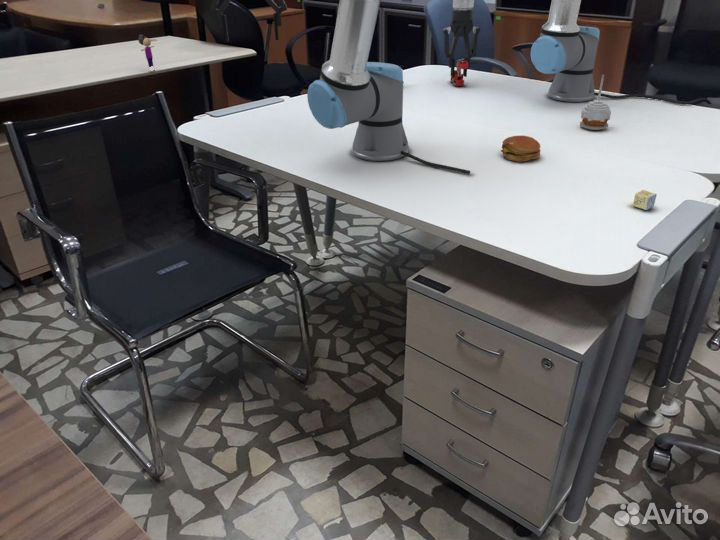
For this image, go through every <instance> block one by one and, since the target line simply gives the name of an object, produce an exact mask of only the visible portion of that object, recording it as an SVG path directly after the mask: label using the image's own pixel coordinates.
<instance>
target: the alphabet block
mask: <svg viewBox="0 0 720 540" xmlns="http://www.w3.org/2000/svg"><path fill="white" fill-rule="evenodd" d="M657 195H658V194H657V193H655V192H651V191H648V190H645V189H642V190H640V191H637V192H636V193H635V194H634V198H633V203H632V206H633V207H635V208H638V209H640V210H641V209H642V210H644V211H648V210H650V209H652V208H654V207H655V203H656V199H657Z"/></svg>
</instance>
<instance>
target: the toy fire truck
mask: <svg viewBox="0 0 720 540" xmlns="http://www.w3.org/2000/svg"><path fill="white" fill-rule="evenodd" d="M455 67H456V69H454V77H451V76H450V83H452V84H453V86H454V87H463V86H465V80H464V76H463V73H462V70H463V69H467V70H468V69H469V67H468V62H467V61H464V60H458V61H457V62H456V63H455Z"/></svg>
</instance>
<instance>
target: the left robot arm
mask: <svg viewBox="0 0 720 540" xmlns="http://www.w3.org/2000/svg"><path fill="white" fill-rule="evenodd" d="M219 1H220V0H212V1H211V5H210V8H209V13H211V14H214V15H216V16H217V22H218V27H219V29H223V36H224V43H229V41H230V37H229V29H228V22H227V15H226V14H223V13H224V12H225V10H226V8H227V7H228V6H229V4H230V3H231V1H232V0H223V2H222V4H221V5H220V6H219V8H217V7H218V4H219ZM264 1H265V2H266V3H267V4H268V5H269V6H270V7H271V9H273V11H274V12H273V14H272V15H273V24H274V25H273V27H274V36H275V41H279V40H280V35H279V27H282V25H283V22H282V13H283V12H285V11H287V9H288V6H287V4H286V2H285V0H277V2H278V4H279V6H278V5H277V3H276V2H275V1H274V0H264ZM381 1H382V0H339V3H338V10H337V16H336V20H335V21H336V22H335V28H334V33H333V38H332V44H331V49H330V57H329V59H328V60H327V61H325V62H324V63H323V64H322V66H321V71H320V76H319V79H315V80H314V81H313V82H312V83H310V84H309V86H308V88H307V95H306V96H307V104H308V108H309V111H310V112H311V115H312V116H313V118H314V120H315V121H316V122H317V123H318V124H319V125H320V126H322V127H323V128H325V129H328V130H329V129H330V130H333V129H338V128H344V127H346V126H348V125H351V124H356V123H358V125H357V128H356V131H355V135H354V138H353V141H352V155H353V156H354V157H356V158H358V159H360V160H364V161H371V162H389V161H394V160H398V159H399V160H400V159H401V158H404V157H407V158H410V159H412V160H414V161H416V162H418V163H420V164H423V165H425V166H429V167H433V168H437V169H442V170H447V171H453V172H456V173H462V174H467V175H471V170H468V169H464V168H459V167H454V166H450V165H447V164H441V163H436V162H430V161H427V160H426V159H425V160H424V159H422V158H420V157H418V156H416V155H413V154H411V153H409V151H410V150H409V149H410V146H409V141H408V137H407V134H406V132H405V128H404V125H403V124H404V123H403V108H404V107H403V106H404V84H405V81H404V72H403V69H402V68H401V66H399V65H397V64H393V63H389V62H388V63H387V62H377V61H368V60H369V56H370V52H371V46H372V42H373V38H374V34H375V33H374V32H375V28H376V25H377V21H378V20H377V19H378V15H379V10H380V7H381V6H380V5H381Z"/></svg>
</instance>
